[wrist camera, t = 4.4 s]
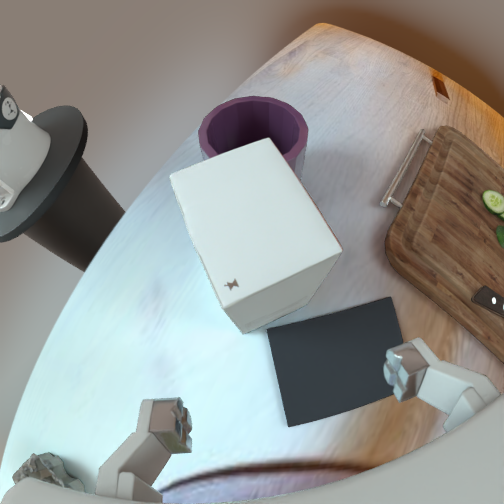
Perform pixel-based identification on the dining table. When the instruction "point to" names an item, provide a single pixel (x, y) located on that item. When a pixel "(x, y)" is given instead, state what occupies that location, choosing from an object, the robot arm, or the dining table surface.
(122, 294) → the dining table surface
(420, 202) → the chopping board
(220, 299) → the small box
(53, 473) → the egg carton
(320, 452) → the dining table surface
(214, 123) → the plum cup
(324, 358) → the coaster pad
